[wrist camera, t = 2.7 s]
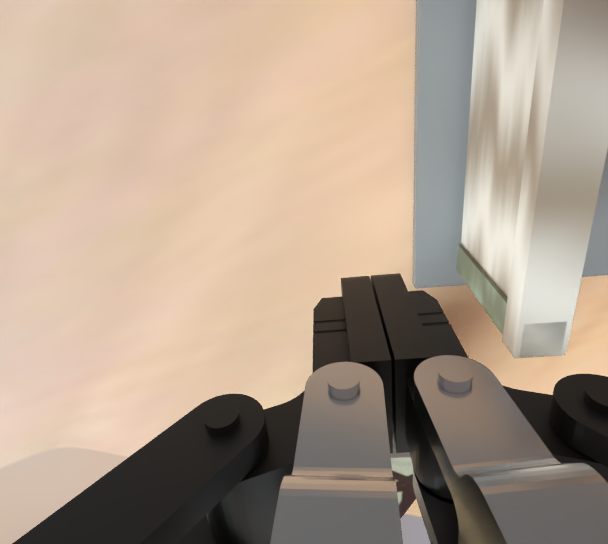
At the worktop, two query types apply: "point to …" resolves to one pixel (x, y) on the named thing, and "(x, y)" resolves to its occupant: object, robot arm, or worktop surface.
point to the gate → (534, 164)
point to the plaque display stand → (456, 145)
